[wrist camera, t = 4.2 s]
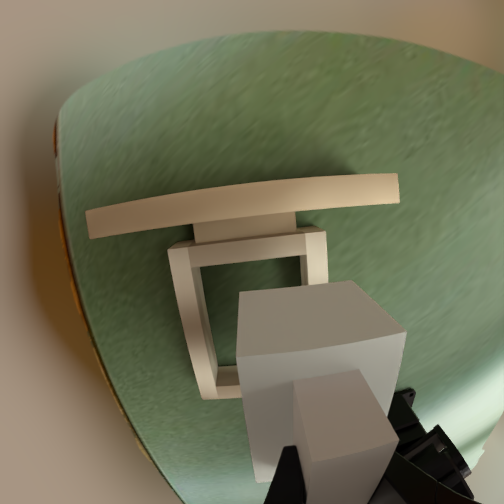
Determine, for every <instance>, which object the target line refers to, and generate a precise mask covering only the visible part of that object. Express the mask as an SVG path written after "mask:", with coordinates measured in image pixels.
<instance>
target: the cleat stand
mask: <svg viewBox="0 0 504 504" xmlns="http://www.w3.org/2000/svg"><path fill="white" fill-rule="evenodd" d="M389 203H400V199H399V185H398V174H397V173H394V174H359V175H338V176H322V177H308V178H295V179H284V180H273V181H263V182H254V183H245V184H237V185H229V186H221V187H214V188H207V189H200V190H193V191H187V192H180V193H174V194H168V195H162V196H156V197H151V198H145V199H140V200H135V201H129V202H124V203H119V204H115V205H110V206H105V207H100V208H96V209H91V210H87V211H85V213H86V220H87V227H88V233H89V238H90V239H94V238H100V237H106V236H112V235H118V234H124V233H131V232H137V231H144V230H150V229H157V228H164V227H171V226H178V225H185V224H192V223H193V229H194V236H195V240H188V241H180V242H177V243H175V244H174V245H173V246H171V247H170V248H169V249H167V251H168V256H169V262H170V268H171V273H172V278H173V283H174V288H175V293H176V298H177V303H178V307H179V312H180V316H181V321H182V325H183V329H184V334H185V338H186V342H187V346H188V350H189V354H190V357H191V361H192V365H193V369H194V372H195V376H196V380H197V383H198V387H199V390H200V394H201V397H202V400H203V399H227V398H241V397H242V395H241V389H240V382H239V375H238V368H237V365H234V366H221V367H219V366H218V362H217V357H216V352H215V348H214V343H213V338H212V333H211V328H210V323H209V318H208V312H207V307H206V301H205V296H204V290H203V285H202V279H201V273H200V267H202V266H211V265H220V264H229V263H237V262H246V261H255V260H263V259H272V258H280V257H289V256H297V255H300V268H301V282H302V286H306V285H315V284H324V283H328V263H327V244H326V231H324V230H322V229H321V228H319V227H317V226H308V227H298V228H296V218H295V211H304V210H314V209H325V208H336V207H348V206H361V205H374V204H389Z"/></svg>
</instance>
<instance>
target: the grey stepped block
mask: <svg viewBox="0 0 504 504" xmlns="http://www.w3.org/2000/svg"><path fill="white" fill-rule="evenodd" d="M406 334H407V331H406V330H405V329H404V328H403V327H402V326H401V325H400V324H399V323H397V322H396V321H395V320H394V319H393V318H392V317H391V316H390V315H389V314H388V313H387V312H386V311H385V310H384V309H383V308H382V307H381V306H379V305H378V304H377V303H376V302H375V301H374V300H373V299H372V298H371V297H370V296H369V295H368V294H366V293H365V292H364V291H363V290H362V289H361V288H360V287H359V286H358V285H357V284H355V283H354V282H353V281H352V280H349V281H341V282H333V283H324V284H315V285H306V286H296V287H286V288H276V289H266V290H255V291H243V292H239V309H238V327H237V346H236V361H237V368H238V375H239V382H240V389H241V395H242V402H243V408H244V415H245V421H246V427H247V433H248V439H249V445H250V451H251V457H252V463H253V468H254V474H255V479H256V483H259V482H272V479H273V476H274V474H275V471H276V468H277V465H278V462H279V458H280V455H281V452H282V449H283V447H284V446H289V445H296V447H297V451H298V455H299V460H300V464H301V469H302V474H303V504H367V503H368V501H369V500H370V498H371V496H372V495H373V493H374V491H375V489H376V487H377V486H378V484H379V482H380V480H381V478H382V476H383V474H384V472H385V470H386V468H387V466H388V464H389V462H390V460H391V458H392V455H393V453H394V451H395V449H396V447H397V444H398V442H399V438H398V436H397V434H396V433H395V431H394V429H393V427H392V426H391V424H390V422H389V420H388V418H387V415H388V412H389V408H390V405H391V401H392V398H393V394H394V390H395V386H396V382H397V378H398V374H399V369H400V365H401V360H402V355H403V350H404V345H405V339H406Z"/></svg>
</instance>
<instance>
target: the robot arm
mask: <svg viewBox="0 0 504 504" xmlns="http://www.w3.org/2000/svg"><path fill="white" fill-rule="evenodd" d="M415 394H416V392H415V390H414V389H409V390H406V391H403V392H400V393H397V394H394V395H393V398H392V401H391V405H390V408H389V412H388V415H387V418H388V420H389V422H390V424H391V426H392V427H393V429H394V431H395V433H396V434H397V436H398V438H399V442H398V444H397V447H396V449H395V451H394V453H393V455H392V458H391V460H390V462H389V464H388V466H387V468H386V470H385V472H384V474H383V476H382V478H381V480H380V482H379V484H378V486H377V487H376V489H375V491H374V493H373V495H372V496H371V498H370V500H369V501H368V503H367V504H481V503H479V502H476V501H474V495H473V493H472V492H471V490H470V488H469V487H468V485H467V483H466V481H465V480H464V478H466V477H467V476H469V475H470V474H471V471H470V469H469V467H468V465H467V463H466V462H465V460H464V458H463V457H462V455H461V454H460V452H459V451H458V450H457V448H456V447H455V445H454V444H453V443H452V441H451V440H450V439H449V437H448V436H447V435H446V434H445V432H444V431H443V430H442V428H441V427H440V426H439V424H437V425H436V426H435V427H434V428H433V429H432V430H431V431H430V432H428V433H427V432H426V431H425V429H424V428H423V426H422V425H421V423H420V422H419V419H418V417H417V416H416V414H415V413H414V411H413V410H412V408H411V407H412V404H413V401H414V398H415ZM441 450H442V451H441ZM264 504H303V474H302V469H301V464H300V460H299V455H298V451H297V447H296V445H289V446H284V447H283V449H282V452H281V455H280V458H279V462H278V465H277V468H276V471H275V474H274V476H273V479H272V482H271V485H270V488H269V491H268V493H267V496H266V499H265V501H264Z"/></svg>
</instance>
